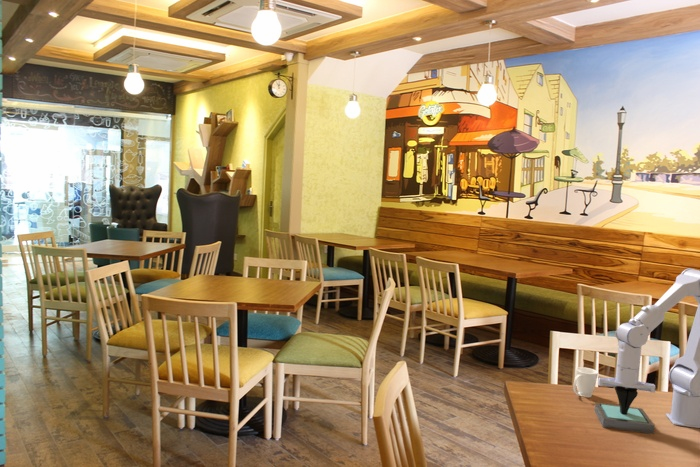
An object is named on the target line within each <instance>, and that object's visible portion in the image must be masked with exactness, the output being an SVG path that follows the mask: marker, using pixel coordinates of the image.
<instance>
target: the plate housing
mask: <svg viewBox="0 0 700 467" xmlns="http://www.w3.org/2000/svg"><path fill="white" fill-rule="evenodd" d="M594 403H595V404H594V413H595V414H596V416H597V419H598V420H599V423H600V424H601V426H602V428H604V429H605V428H607V429H614V430H621V431H627V432H633V433H642V434H647V435H655V434H654V433H655V424H654V422H653V421H652V420H651V419H650V417H649V416H648V415H647V413H646V411H645V410H644V409H643V408H640V407H634V406H630V407H629V408H632V409H638V410H639V411H640V412H641V414H642V415H643V417H644V418H645V420H646V421H647V422H648V423H642V422H635V421H628V420H620V419H613V418H607V417H606V415H605V413H604V411H603V409H602V408H601V404H602V405H610V406H617V407H620V405H619V404H618V405H617V404H611V403H610V404H609V403H604V402H603V403H602V402H596V401H595V402H594Z"/></svg>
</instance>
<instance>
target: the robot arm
mask: <svg viewBox="0 0 700 467" xmlns="http://www.w3.org/2000/svg"><path fill="white" fill-rule="evenodd" d="M686 297H693V298H694V299H695V301H696V302H697V304H698V306H697V308H696V312H695V316H694V319H693V322H692V325H691V329H690V333H689V336H688V339H687V343H686V346H685V349H684V353H683V355H682V356H681V357H678V358H676V360H674V361H675V362H674V364H673V366H672V367H671V368H670V370H669V372H668V379H669V382H670V383H671V388H673V390H672V398H671V399H672V400H671V401H672V402H671V410H670V413H668V412H666V413H665V416H666V417H667V418H668V419H669V421H670V422H671V423H672V424H673V425H675V426H682V427H689V428H694V429H695V428H696V429H700V270H698V269H695V268H693V267H691V268H690V267H689V268H686V269H684V270H683V271H682V272H681V273H680V274H678V275H677V276H676V278H675V281H674V283H673V285H671V286H670V287H669V289H668V290H667V291H665V293H664V294H662V296H661V297H659V299H658V300H657V301H656V302H655V303H654V304H648V305H644V306H642V307H641V308H640V309H641V310H640V311H639V312H638V313H637V314H636V315H635V316H634V317H632V318H630V319H629V320H628V322H624V323H621V324H620V325H619V326H618V327H617V330H615V331H614V334H615V338H616V339H617V346H618V350H617V359H616V360H617V361H616V372H615V377H598V376H597V379H598V380H597V385H598V386H600V387H612V388H614V390H615V393H616V395H617V399H618V405H619V406H620V412H621V414H625V415H627V412H628V409H629V407H631V405H632V403H633V402H634V400H635V399H636V398H637V396H638V395H639V394H638V391H644V392H650V393H653V394H654V393H656V385H655V384H654V383H649V382H643V381H639V376H640V364H641V354H642V347H643V346H644V345H646V343H647V342H648V339H649V336H650V334H651V332H653V331H654V330H655V329H656V328H657V327H658V326H659V325H660V324H661V323H662V322H664V320H665V314H666V313H667V312H668V311H670V310H671V309H673V308H674V307H675V306H676V305H677V304H678V303H680V302H681V301H682V300H684V299H685V298H686Z"/></svg>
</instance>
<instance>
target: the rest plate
mask: <svg viewBox="0 0 700 467" xmlns="http://www.w3.org/2000/svg"><path fill="white" fill-rule="evenodd" d="M601 408H602V409H603V411H604V413H605V415H606V417H607V418H613V419H620V420H628V421H635V422H642V423H648V422H647V421H646V420H645V418H644V417H643V415H642V414H641V412H640V411H639V410H638V409H632V408H629V409H628V412H627V415H625V414H621V412H620V407H617V406H610V405H602V404H601Z"/></svg>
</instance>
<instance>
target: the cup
mask: <svg viewBox="0 0 700 467" xmlns="http://www.w3.org/2000/svg"><path fill="white" fill-rule="evenodd" d="M598 376H599V371H598V370H596V369H594V368H590V367H586V366H585V367H584V366H583V367H582V366H581V367H579V366H577V367H576V368H575V377H574V379H573V385H572V390H573V392H574V393H575V394H576V395H577V396H578V397H581V398H582V397H584V398H592V397H593V395H592V394H593V392H594V389H595V387H596V382H597V379H598Z"/></svg>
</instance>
